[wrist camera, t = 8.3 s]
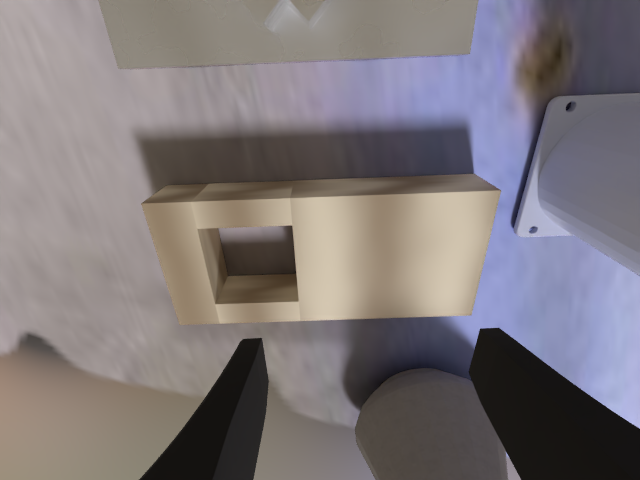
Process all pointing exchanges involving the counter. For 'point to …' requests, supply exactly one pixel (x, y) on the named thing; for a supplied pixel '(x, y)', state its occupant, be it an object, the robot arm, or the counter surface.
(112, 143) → the counter surface
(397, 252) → the beam
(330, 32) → the v-block
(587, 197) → the robot arm
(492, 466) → the coffee pot
